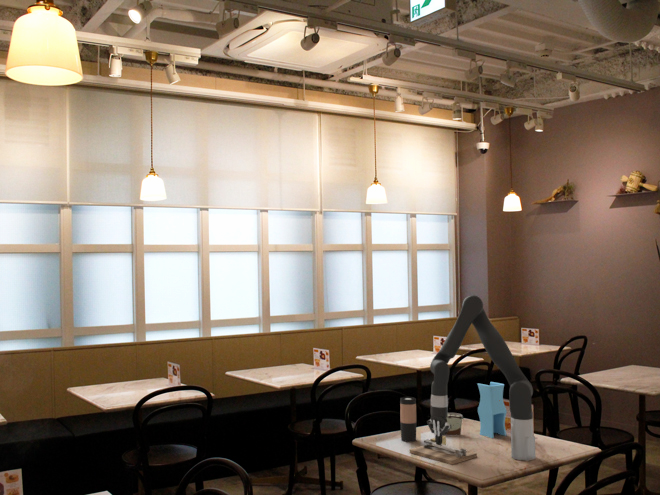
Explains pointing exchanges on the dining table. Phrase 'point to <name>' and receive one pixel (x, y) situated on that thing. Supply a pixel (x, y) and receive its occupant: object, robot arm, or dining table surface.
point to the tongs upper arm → (441, 446)
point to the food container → (454, 424)
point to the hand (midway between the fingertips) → (438, 443)
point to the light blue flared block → (492, 409)
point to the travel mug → (408, 418)
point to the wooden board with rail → (443, 454)
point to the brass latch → (442, 440)
